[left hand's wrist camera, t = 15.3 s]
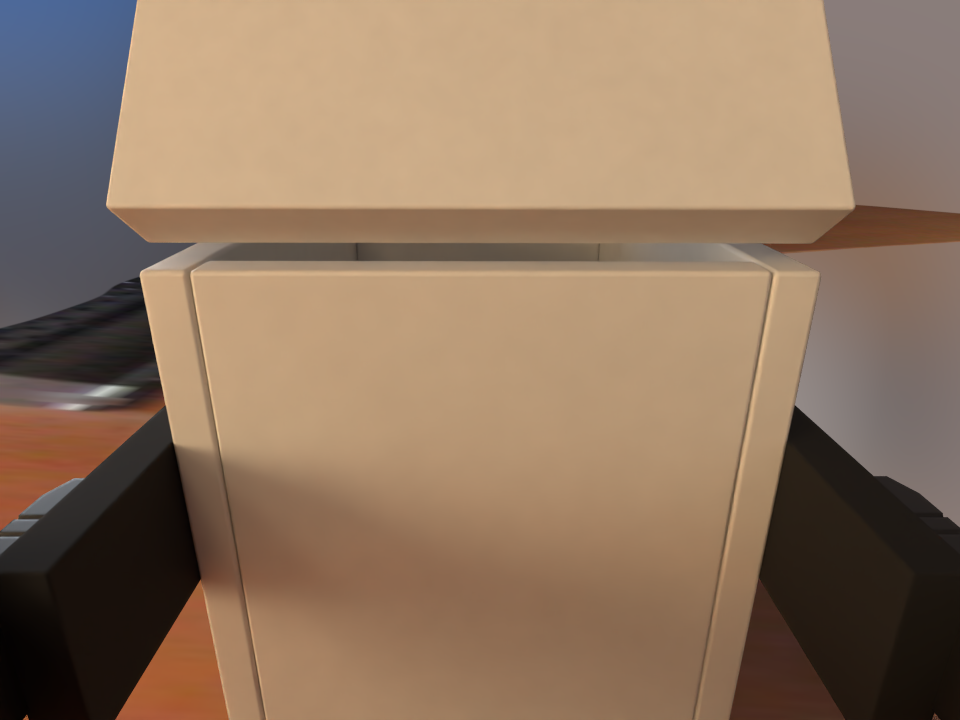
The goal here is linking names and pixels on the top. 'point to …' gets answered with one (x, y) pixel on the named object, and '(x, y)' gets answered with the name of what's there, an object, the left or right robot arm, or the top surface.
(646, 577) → the chest
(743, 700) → the top surface
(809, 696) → the top surface
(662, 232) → the lid
